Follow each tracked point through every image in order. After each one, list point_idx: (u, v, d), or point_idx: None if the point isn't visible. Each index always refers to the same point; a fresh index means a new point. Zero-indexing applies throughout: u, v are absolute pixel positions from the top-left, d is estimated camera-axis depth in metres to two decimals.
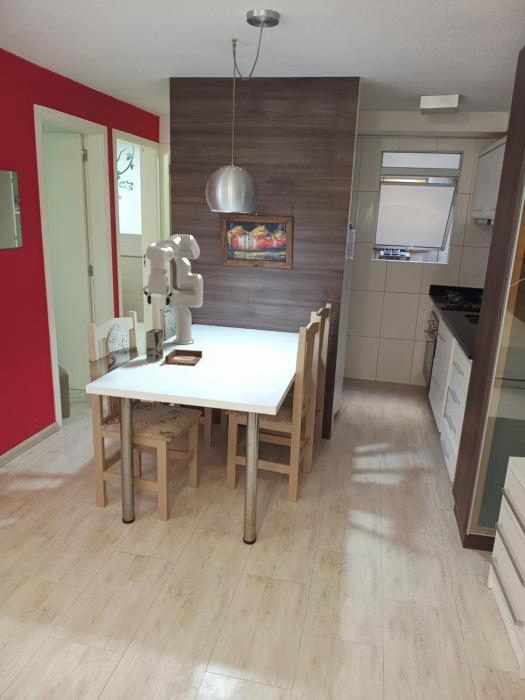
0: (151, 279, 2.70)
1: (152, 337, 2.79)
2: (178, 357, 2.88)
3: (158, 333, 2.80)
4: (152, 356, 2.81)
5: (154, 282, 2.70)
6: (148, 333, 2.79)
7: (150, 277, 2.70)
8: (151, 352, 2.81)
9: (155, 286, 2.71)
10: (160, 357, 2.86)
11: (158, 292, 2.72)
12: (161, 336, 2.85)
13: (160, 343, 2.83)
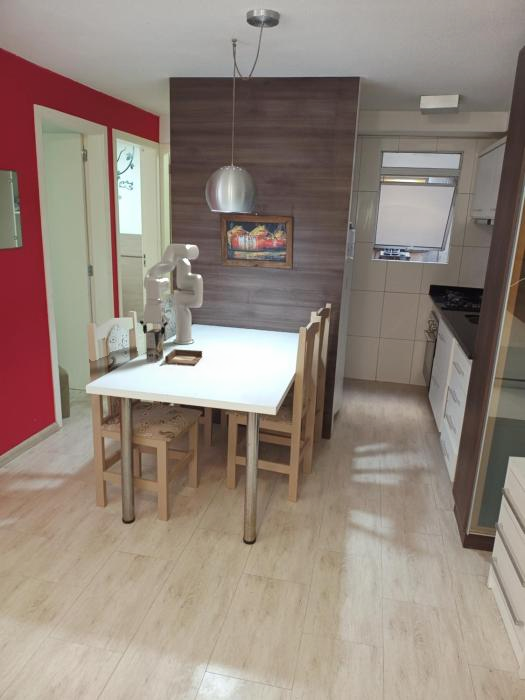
0: (146, 309, 2.78)
1: (152, 337, 2.79)
2: (178, 357, 2.88)
3: (158, 333, 2.80)
4: (152, 356, 2.81)
5: (150, 312, 2.78)
6: (148, 333, 2.79)
7: (146, 307, 2.78)
8: (151, 352, 2.81)
9: (151, 316, 2.78)
10: (160, 357, 2.86)
11: (153, 322, 2.79)
12: (161, 336, 2.85)
13: (160, 343, 2.83)
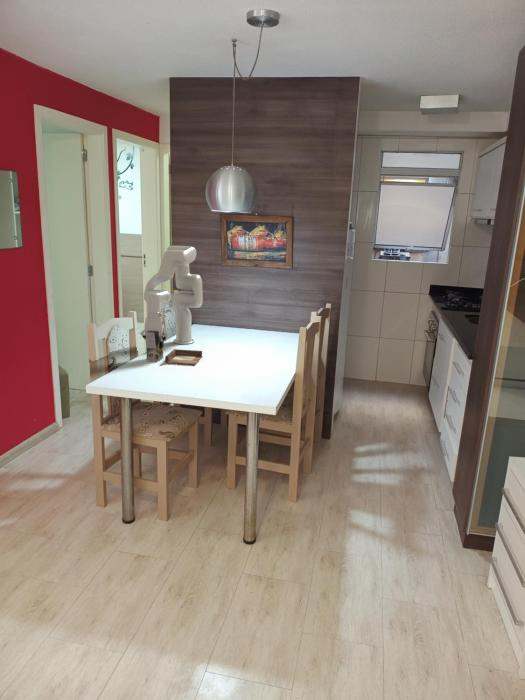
0: (147, 323, 2.80)
1: (152, 337, 2.79)
2: (178, 357, 2.88)
3: (158, 333, 2.80)
4: (152, 356, 2.81)
5: (150, 325, 2.80)
6: (148, 333, 2.79)
7: (146, 321, 2.80)
8: (151, 352, 2.81)
9: (152, 329, 2.80)
10: (160, 357, 2.86)
11: None
12: None
13: None
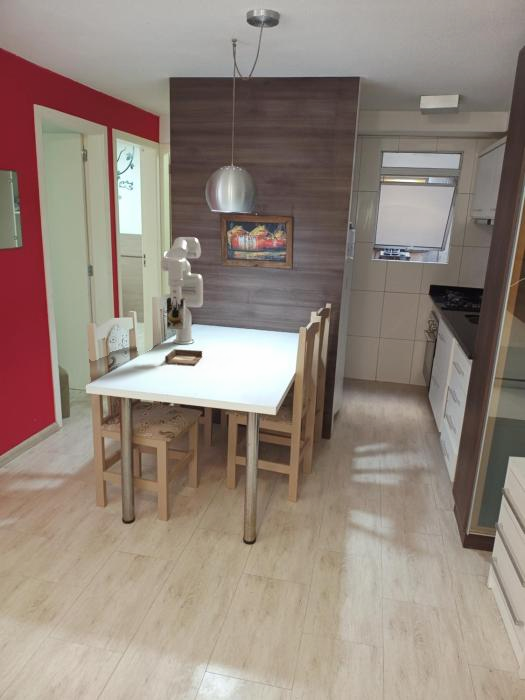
0: None
1: None
2: (178, 357, 2.88)
3: (170, 300, 2.76)
4: None
5: None
6: None
7: None
8: None
9: None
10: (175, 326, 2.80)
11: None
12: (178, 305, 2.77)
13: None
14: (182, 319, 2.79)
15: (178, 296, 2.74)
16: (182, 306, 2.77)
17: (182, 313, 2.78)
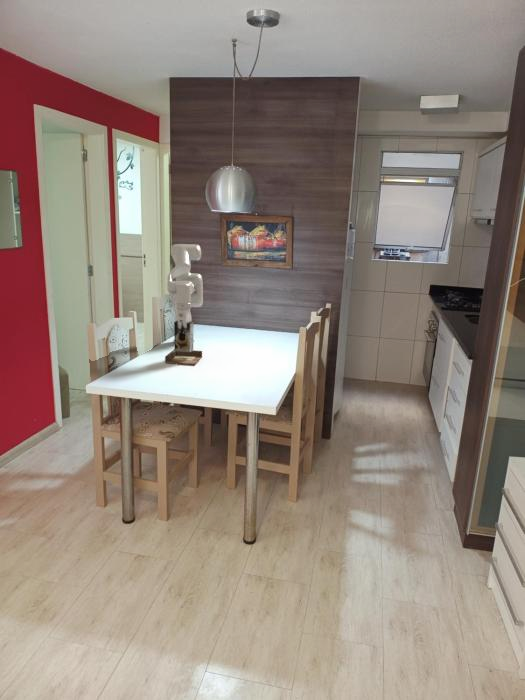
0: None
1: None
2: (178, 357, 2.88)
3: None
4: None
5: None
6: None
7: None
8: None
9: None
10: (182, 349, 2.83)
11: None
12: (185, 329, 2.80)
13: None
14: (189, 342, 2.81)
15: (184, 320, 2.77)
16: (189, 329, 2.80)
17: (189, 336, 2.80)
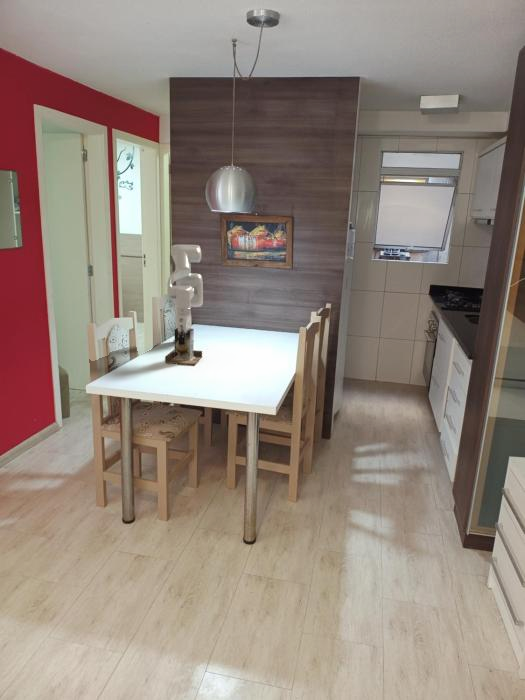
0: None
1: None
2: None
3: None
4: None
5: None
6: None
7: None
8: None
9: None
10: (182, 356, 2.84)
11: None
12: (185, 336, 2.81)
13: None
14: (189, 349, 2.83)
15: (184, 325, 2.77)
16: (189, 337, 2.81)
17: (189, 344, 2.82)
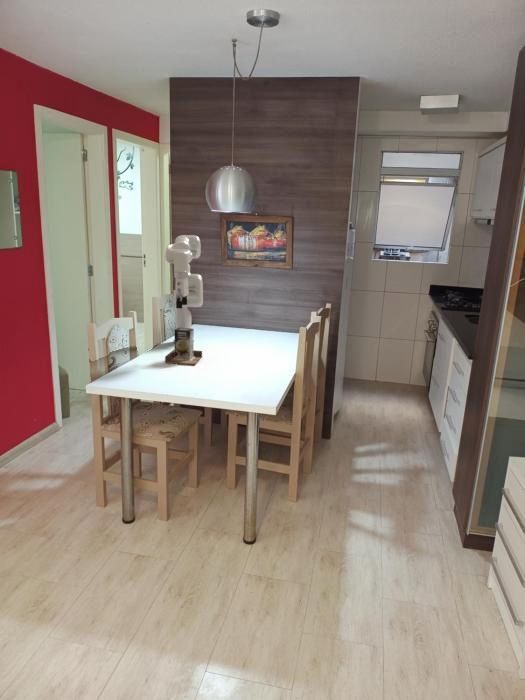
0: None
1: None
2: None
3: (178, 331, 2.81)
4: None
5: None
6: None
7: None
8: None
9: None
10: (182, 356, 2.84)
11: None
12: (185, 336, 2.81)
13: (181, 342, 2.82)
14: (189, 349, 2.83)
15: (182, 288, 2.76)
16: (189, 337, 2.81)
17: (189, 344, 2.82)
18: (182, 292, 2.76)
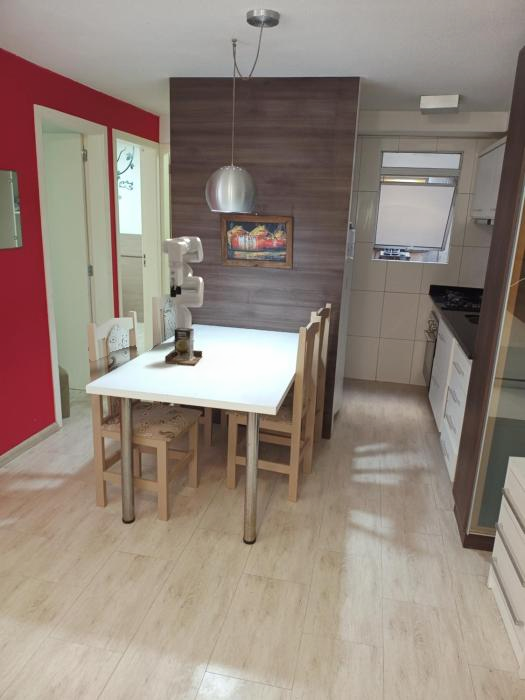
0: None
1: None
2: None
3: (178, 331, 2.81)
4: None
5: None
6: None
7: None
8: None
9: None
10: (182, 356, 2.84)
11: None
12: (185, 336, 2.81)
13: (181, 342, 2.82)
14: (189, 349, 2.83)
15: (176, 277, 2.83)
16: (189, 337, 2.81)
17: (189, 344, 2.82)
18: (176, 281, 2.84)
